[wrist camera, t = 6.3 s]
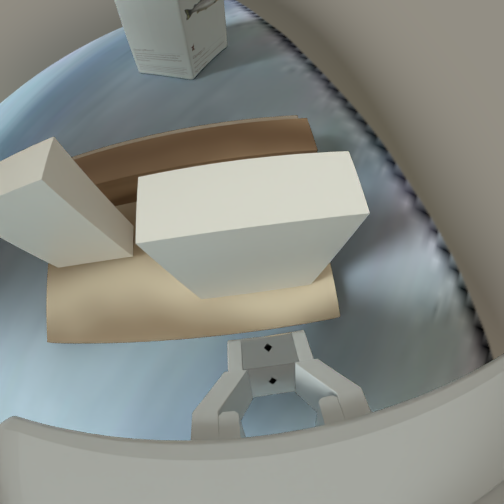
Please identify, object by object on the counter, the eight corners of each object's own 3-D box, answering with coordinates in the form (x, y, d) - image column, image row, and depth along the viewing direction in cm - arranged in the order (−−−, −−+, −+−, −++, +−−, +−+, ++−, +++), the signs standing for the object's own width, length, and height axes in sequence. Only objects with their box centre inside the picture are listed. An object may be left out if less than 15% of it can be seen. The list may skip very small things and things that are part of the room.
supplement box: (194, 81, 23) (170, -33, 11) (137, 73, 24) (104, -21, 12) (230, 46, 25) (222, -51, 13) (176, 40, 26) (157, -45, 14)
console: (334, 318, 17) (357, 310, 13) (57, 343, 16) (18, 339, 12) (297, 150, 20) (304, 111, 16) (66, 192, 20) (39, 165, 16)
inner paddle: (133, 256, 16) (41, 179, 8) (58, 267, 16) (-39, 214, 7) (133, 226, 17) (53, 136, 8) (60, 240, 17) (-28, 177, 8)
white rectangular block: (310, 284, 16) (369, 213, 7) (201, 299, 15) (135, 243, 7) (304, 250, 16) (348, 151, 8) (198, 264, 16) (138, 176, 7)
